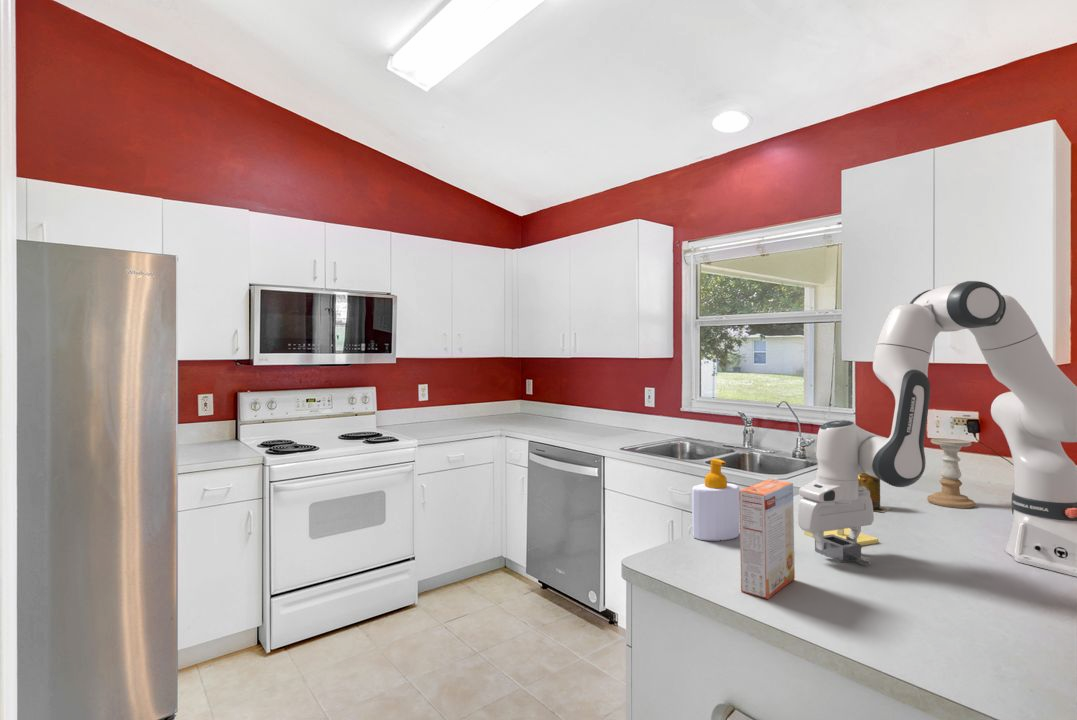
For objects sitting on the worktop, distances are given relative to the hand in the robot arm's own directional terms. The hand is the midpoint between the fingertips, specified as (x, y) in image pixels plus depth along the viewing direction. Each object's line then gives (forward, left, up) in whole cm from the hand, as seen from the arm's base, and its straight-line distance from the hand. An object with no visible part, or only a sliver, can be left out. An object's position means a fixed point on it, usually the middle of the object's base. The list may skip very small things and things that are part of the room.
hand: (836, 546), depth 132 cm
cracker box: (-8, +28, -2) cm, 29 cm away
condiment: (+27, -44, -2) cm, 52 cm away
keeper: (+9, -11, -2) cm, 14 cm away
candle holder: (+22, -72, -2) cm, 75 cm away
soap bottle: (+22, +18, -2) cm, 28 cm away
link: (-2, 0, -2) cm, 3 cm away
